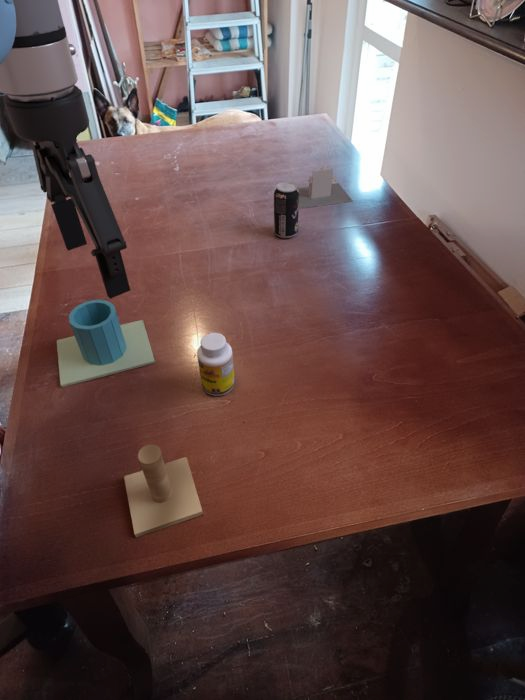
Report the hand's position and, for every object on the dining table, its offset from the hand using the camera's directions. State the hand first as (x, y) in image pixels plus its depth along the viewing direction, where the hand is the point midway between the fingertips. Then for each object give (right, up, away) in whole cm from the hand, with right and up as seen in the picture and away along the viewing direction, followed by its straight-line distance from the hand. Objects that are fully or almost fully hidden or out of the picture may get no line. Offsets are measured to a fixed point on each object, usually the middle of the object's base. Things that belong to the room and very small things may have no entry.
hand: (96, 268), depth 62 cm
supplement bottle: (+14, -17, +18) cm, 29 cm away
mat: (-7, -11, +24) cm, 27 cm away
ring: (-7, -11, +24) cm, 27 cm away
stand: (+8, -31, +4) cm, 32 cm away
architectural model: (+37, +31, +67) cm, 82 cm away
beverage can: (+27, +17, +53) cm, 62 cm away
